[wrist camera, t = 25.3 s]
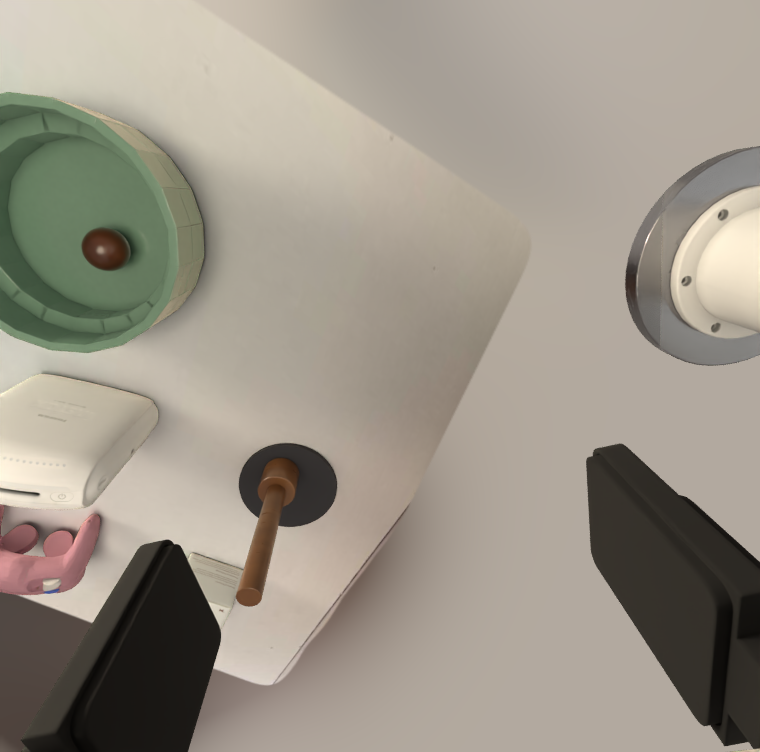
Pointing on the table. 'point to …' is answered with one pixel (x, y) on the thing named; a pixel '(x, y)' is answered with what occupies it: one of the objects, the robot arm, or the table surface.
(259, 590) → the pestle
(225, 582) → the small box
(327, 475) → the coaster
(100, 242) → the chestnut
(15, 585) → the video game controller
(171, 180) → the bowl
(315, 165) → the table surface
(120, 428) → the photo printer
